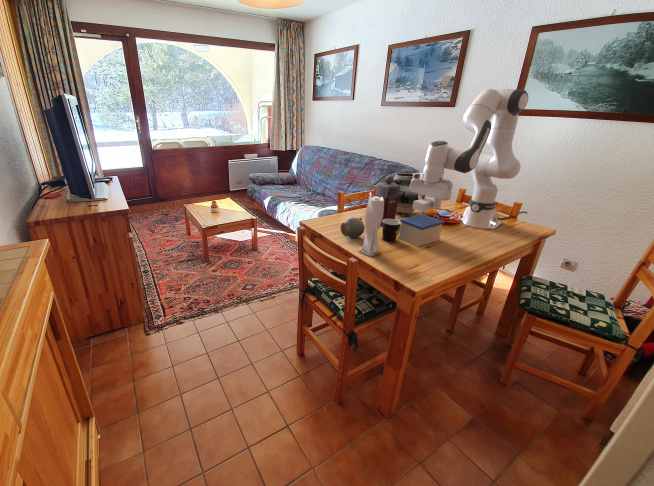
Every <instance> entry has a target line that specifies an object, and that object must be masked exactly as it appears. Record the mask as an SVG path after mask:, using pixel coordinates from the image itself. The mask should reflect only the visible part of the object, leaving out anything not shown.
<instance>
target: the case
mask: <svg viewBox="0 0 654 486" xmlns="http://www.w3.org/2000/svg"><path fill="white" fill-rule="evenodd" d="M442 201H443V200H439V201H438V203H436V207H431V204H432V203H434V202H435V200H434V198H432V197H425V199H421V200H416V201H414V202H413V208H412V209H415V210H414V211H417V212H421V213H424V212H426V211H431V210H435V209H441V206H442Z"/></svg>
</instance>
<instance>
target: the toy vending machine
mask: <svg viewBox="0 0 654 486" xmlns="http://www.w3.org/2000/svg"><path fill="white" fill-rule="evenodd" d="M393 178H394V176H392V175H390V174H389V175H386V176H385V177H384V182H377V184H376V188H375V195H374V196H377V197H380V198H381V197H383V199H384V211H383V218H382V222H381V225H380V228H382V225H383V220H384V219H395V220H396V216H397V214H396V210H397V203H398V197H399V190H400V185H397V184H394V183H392V182H393ZM383 199H382V200H383Z"/></svg>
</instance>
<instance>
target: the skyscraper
mask: <svg viewBox="0 0 654 486" xmlns="http://www.w3.org/2000/svg"><path fill="white" fill-rule="evenodd" d="M382 199H383V197H381V198H380V197H377V196H375V195H374V196H373V195H372V192H369V194H368V199H367V204H366V210H365V217H364V219H365V220H364V221H365V222H364V226H365V235H364V239H363V242H362V247H361V249H360V250H358V252H359V253H361V254H364V255H366V256H368V257H370V258H373V257H375V256H377V255H379V254H381V251H379V235H378V232H379V230H380V228H381V226H380V225H381V222H382V218H383V211H384V199H383V200H382Z"/></svg>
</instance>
